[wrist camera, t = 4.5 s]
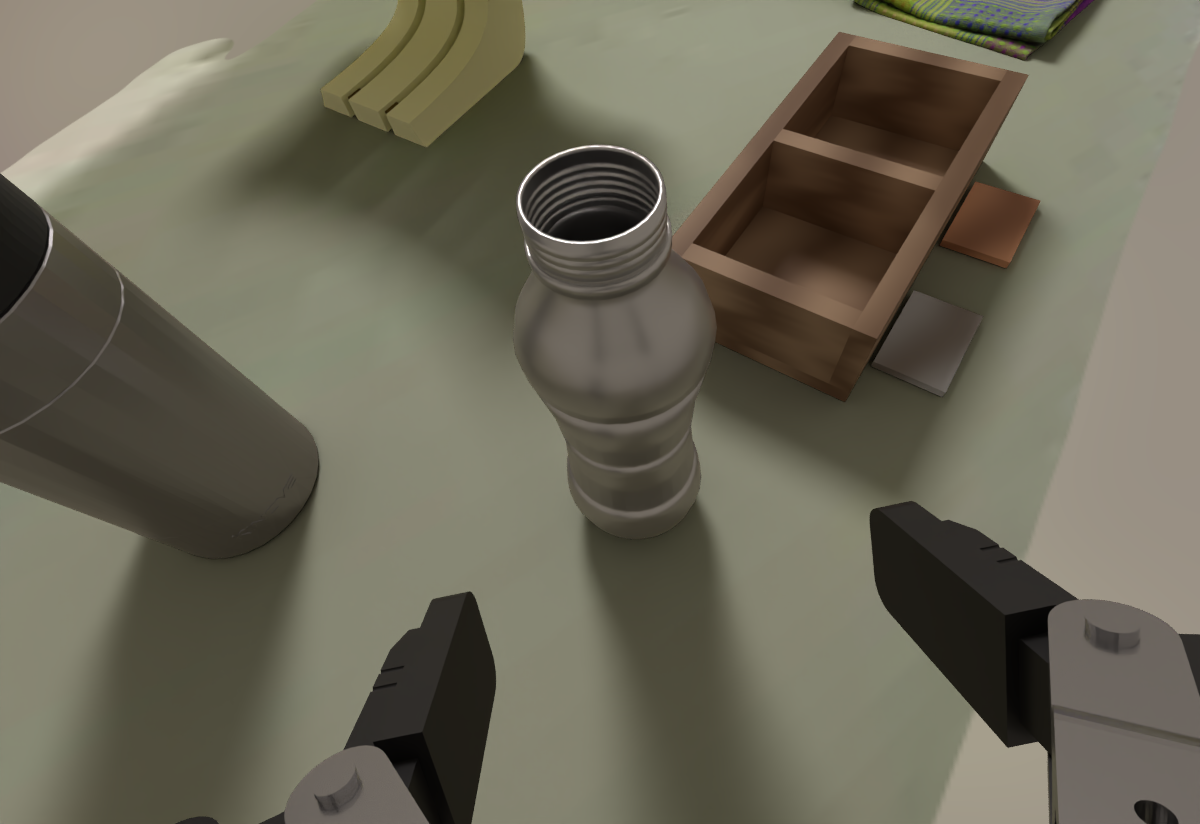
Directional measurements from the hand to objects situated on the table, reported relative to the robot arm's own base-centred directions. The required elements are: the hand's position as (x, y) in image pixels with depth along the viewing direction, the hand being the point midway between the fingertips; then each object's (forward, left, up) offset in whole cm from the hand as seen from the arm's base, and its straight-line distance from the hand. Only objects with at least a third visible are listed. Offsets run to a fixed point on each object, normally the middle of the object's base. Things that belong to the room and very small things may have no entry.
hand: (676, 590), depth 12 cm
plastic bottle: (-6, +7, -18) cm, 20 cm away
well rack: (-3, +29, -18) cm, 34 cm away
